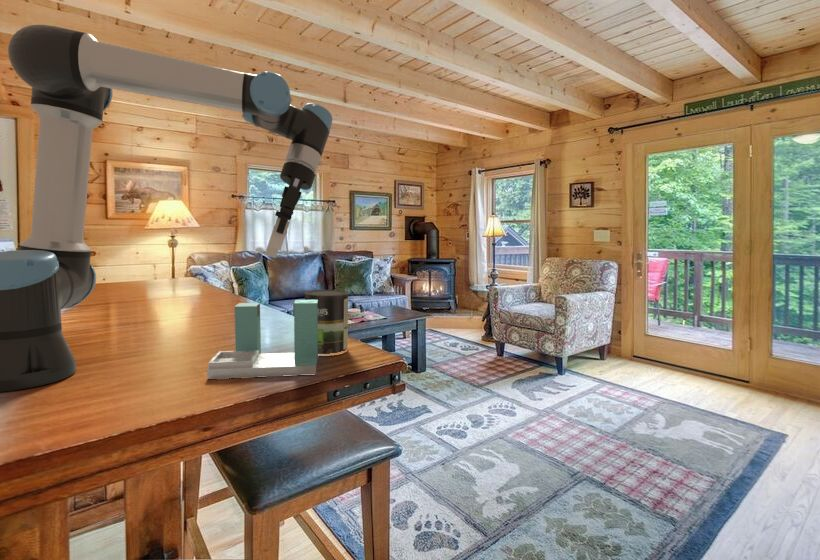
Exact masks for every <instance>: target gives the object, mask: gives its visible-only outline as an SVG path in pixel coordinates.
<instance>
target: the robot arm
mask: <svg viewBox="0 0 820 560" xmlns="http://www.w3.org/2000/svg"><path fill="white" fill-rule="evenodd" d="M7 52H8V59H9V62H10V64H11V67H12V69H13V70H14V71H15V73H16V74H17V76H19V78H20V79H21V80H22V81H23V82H24V83H25V84H27V86H29V87H31V94H30V97H31V98H30V108H31V109H32V110H33V112H35V114H36V115H37V116H38V118H39V126H38V139H37V150H36V165H35V178H34V192H33V205H32V216H31V217H32V219H31V228H30V229H31V231H30V232H31V233H30V236H29V237H28V238H26V239H25V240H23V241H21V242H20V243H19V250H14V249H13V250H6V251H0V392H10V391H18V390H19V391H20V390H25V389H30V388H36V387H40V386H46V385H48V384H49V385H50V384H53V383H55V382H59V381H62V380H64V379H67V378H68V377H71V376H73V375H74V374H75V373H76V371H77V363H76V358H75V356H74V355H73V353H72V350H71V348H70V346H69V344H68V341H66V337H65V336H64V334H63V326H62V313H61V312H62V311H61V310H64V309H69V308H71V307H74V306H77V305H78V304H79V303H82V302H83V301H84V300H85V299H87V297H89V296H90V295H91V293H92V292H93V290H94V289H95V286H96V282H97V273H96V270H95V269H94V267H93V265H92V264H91V255H92V249H91V248H90V247H89V246H88V244H86V243H85V241H84V235H85V223H86V211H87V202H88V201H87V199H88V189H89V180H90V179H89V177H90V166H91V165H90V164H91V155H92V141H93V131H94V129H96V128H98V127H99V126H101V125H102V124H103V118H104V111H105V110H107V108H109V106H110V104H111V102H112V100H113V99H112V98H113V90H117V91H121V92H122V91H123V92H127V93H133V94H134V93H135V94H139V95H145V96H150V97H156V98H161V99H167V100H173V101H177V102H178V101H179V102H183V103H189V104H195V105H201V106H206V107H211V108H217V109H221V110H222V109H223V110H226V111H227V110H229V111H233V112H239V113H242V118H243V119H244V121H245V122H248V123H250V124H252V125H254V126H255V127H257V128H261V129H263V130H266V131H269V132H271V133H273V134H277V135H278V136H281V137H283V138H285V139H287V140H291V143H290V145H289V147H288V150H287V153H286V156H285V159H284V161H285V163H283V166H282V168H281V172H280V174H279V178H280V179H281V181H282V182H283V183H285V184H287V185H288V186H286V185H285V186H284V188H283V192H282V195H281V201H280V203H279V206H280V210H276V212H275V217H277V218H276V221H275V224H274V226H273V229H272V232H271V235H270V238H269V241H268V244H267V246H266V249H265V253H264V256H266V257H271V258H274V259H277V256H278V253H279V251H282V247H283V244H284V240H285V238H286V235H287V233H288V229H289V225H290V222H291V220H292V217H293V215H294V211H295V209H296V205H298V202H299V201H300V199H301V197H302V196H301V195H302V193H303V192H301V191H300V190H302V191H303V190H306V191H307V190H310V189H311V188H312V187H313V184H314V181H315V177H316V173H317V171H318V168H319V167H322V165H323V163H322V162H321V159H322V155H323V153H324V149H325V148H326V144H327V142H328V139H329V136H330V132H331V128H332V125H333V115H332V114H331V112H330V111H329V109H327V108H326V107H324V106H322V105H320V104H318V103H316V104H315V103H313V102H308V103H306V104H305V105H304V106H303V107H302V108H300V107H297V106H295V105H292V104H291V103H292V98H291V91H290V87H289V84H288V83H287V81H286V80H285V78H284V77H282V75H281V74H278V73H276V72H274V71H269V70H267V71H266V70H265V71H262V72H259V73H258V74H252V73H247V72H240V71H237V70H232V69H227V68H222V67H217V66H214V65H209V64H204V63H199V62H194V61H189V60H184V59H180V58H175V57H170V56H166V55H161V54H157V53H152V52H148V51H142V50H138V49H133V48H129V47H124V46H120V45H116V44H115V45H114V44H109V43H105V42H101V41H98V40H97V38H96V37H94V35H93V34H90V33H88V32H83V31H78V30H75V29H74V30H73V29H69V28H65V27H61V26H55V25H48V24H33V25H32V24H31V25H27V26H24V27H22V28H20V29H19V30H17V31H16V32H15V33H14V34H13V35H12V36H11V38H10V39H9V42H8V47H7Z"/></svg>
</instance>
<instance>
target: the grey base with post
mask: <svg viewBox="0 0 820 560" xmlns="http://www.w3.org/2000/svg"><path fill="white" fill-rule="evenodd" d="M292 304H293V305H292V307H293V309H292V311H293V314H292V315H293V326H294V329H293V330H294V334H293V335H294V337H293V338H294V340H293V341H294V347H293V348H294V352H271V353H269V352H268V353H261V354H259V350H252V351H236V350H226V351H225V350H222V351H221V350H219V351H217V353H215V355H214V356H213V357H212V358H211V359H210V361H208V364H207V365H208V366H207V367H208V368H206V376H207V377H206V379H217V380H232V379H231V378H242V377H258V376H283V375H301V374H316V375H317V368H316V366H318V361H319V360H318V359H319V356H318V300H305V299H295V300H294V301H293V303H292ZM229 378H230V379H229ZM242 379H243V378H242Z"/></svg>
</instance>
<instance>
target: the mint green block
mask: <svg viewBox="0 0 820 560" xmlns="http://www.w3.org/2000/svg"><path fill="white" fill-rule="evenodd" d="M234 334H235V335H234V336H235V339H234V340H235V351H252V350H259V354H262V343H261V342H262V341H261V338H262V337H261V335H262V334H261V302H238V303H237V304H236V305H235V306H234Z"/></svg>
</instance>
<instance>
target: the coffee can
mask: <svg viewBox="0 0 820 560" xmlns="http://www.w3.org/2000/svg"><path fill="white" fill-rule="evenodd" d="M349 293H350V292H348V291H345V290H341V289H340V290H339V289H314V290H307V291H305V292H304V293H303V295H304V300H318V354H330V353H338V352H341V351H345V350H346V349H347V348H348V345H349V343H348V340H349V339H348V335H349V332H348V331H349V330H348V329H349ZM348 349H349V348H348Z"/></svg>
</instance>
